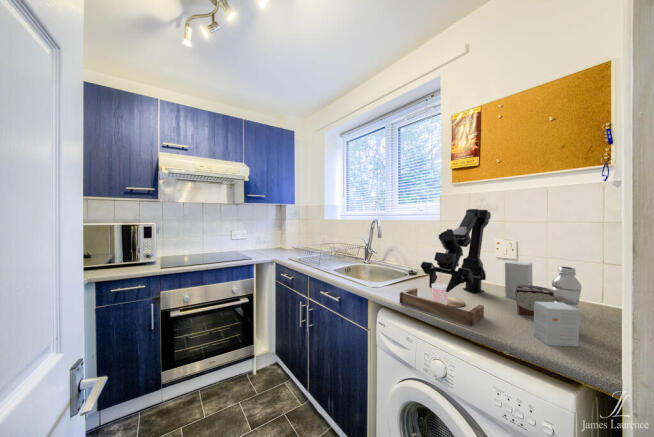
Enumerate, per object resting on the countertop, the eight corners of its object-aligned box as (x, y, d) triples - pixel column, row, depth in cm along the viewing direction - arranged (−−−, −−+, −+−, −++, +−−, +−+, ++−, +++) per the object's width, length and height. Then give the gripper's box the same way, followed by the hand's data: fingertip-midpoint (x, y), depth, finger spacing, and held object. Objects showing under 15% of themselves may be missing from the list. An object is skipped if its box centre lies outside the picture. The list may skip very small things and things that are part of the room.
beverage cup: (431, 310, 91) (432, 273, 90) (430, 304, 96) (431, 269, 96) (449, 312, 89) (450, 275, 88) (447, 306, 94) (448, 271, 94)
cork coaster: (444, 296, 106) (444, 295, 106) (469, 302, 98) (469, 301, 98) (433, 301, 100) (433, 300, 100) (459, 309, 92) (459, 307, 92)
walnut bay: (414, 296, 106) (414, 287, 106) (483, 317, 85) (483, 305, 85) (399, 302, 99) (399, 292, 99) (471, 326, 78) (471, 314, 78)
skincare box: (533, 299, 102) (534, 263, 102) (527, 302, 99) (528, 265, 98) (509, 294, 109) (510, 260, 109) (503, 296, 106) (504, 261, 105)
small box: (561, 336, 71) (562, 302, 71) (579, 347, 66) (580, 309, 66) (532, 335, 72) (533, 300, 72) (547, 345, 67) (548, 308, 66)
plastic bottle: (584, 339, 70) (586, 271, 70) (553, 333, 74) (555, 268, 73) (576, 330, 76) (578, 267, 75) (548, 324, 79) (549, 264, 79)
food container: (546, 313, 89) (547, 286, 88) (556, 320, 83) (557, 291, 82) (507, 308, 93) (507, 282, 92) (513, 314, 87) (514, 287, 87)
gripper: (423, 242, 102) (408, 272, 95) (471, 247, 87) (457, 283, 80) (432, 258, 107) (418, 288, 100) (479, 266, 92) (466, 300, 86)
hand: (438, 289), depth 91 cm, fingers closed on beverage cup, 6 cm apart
